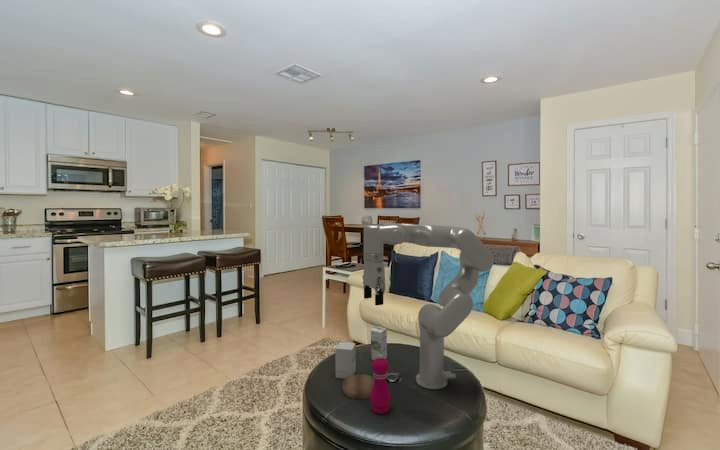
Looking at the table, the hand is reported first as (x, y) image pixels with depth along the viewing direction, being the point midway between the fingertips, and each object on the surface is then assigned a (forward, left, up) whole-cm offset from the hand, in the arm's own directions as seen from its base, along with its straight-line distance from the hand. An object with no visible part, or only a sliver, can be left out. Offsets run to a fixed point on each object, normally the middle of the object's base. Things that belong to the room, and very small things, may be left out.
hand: (373, 301), depth 137 cm
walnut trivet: (+5, 0, -35) cm, 35 cm away
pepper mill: (-2, +13, -35) cm, 38 cm away
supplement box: (+11, -12, -35) cm, 39 cm away
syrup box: (-4, -26, -35) cm, 44 cm away
